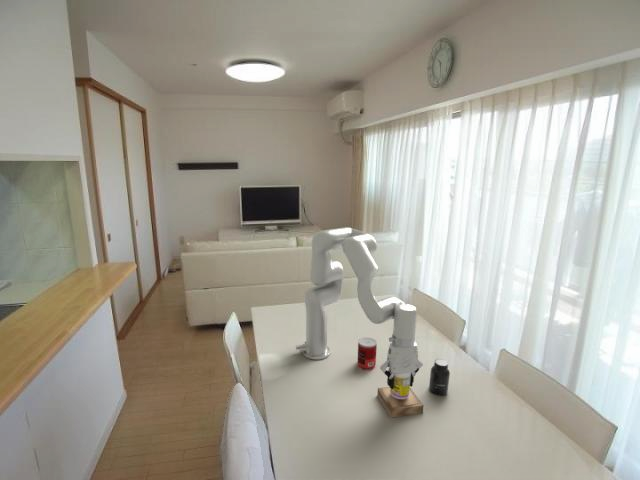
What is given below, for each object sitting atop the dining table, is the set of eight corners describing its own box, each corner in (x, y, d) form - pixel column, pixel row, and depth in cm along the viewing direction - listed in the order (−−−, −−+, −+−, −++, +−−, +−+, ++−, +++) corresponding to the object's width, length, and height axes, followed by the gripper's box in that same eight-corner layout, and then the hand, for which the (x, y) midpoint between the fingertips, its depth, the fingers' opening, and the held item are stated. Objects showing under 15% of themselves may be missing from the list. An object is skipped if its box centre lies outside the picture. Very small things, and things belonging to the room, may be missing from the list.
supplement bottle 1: (386, 390, 126) (388, 359, 124) (401, 386, 129) (403, 355, 126) (397, 402, 120) (399, 369, 118) (412, 397, 123) (415, 365, 120)
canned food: (377, 362, 151) (378, 339, 149) (372, 372, 144) (373, 347, 142) (360, 358, 155) (361, 335, 152) (354, 367, 147) (355, 343, 145)
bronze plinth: (390, 417, 118) (391, 409, 118) (377, 395, 130) (377, 387, 129) (422, 412, 121) (423, 404, 120) (407, 391, 132) (407, 383, 132)
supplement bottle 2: (438, 398, 129) (441, 369, 126) (425, 388, 134) (427, 360, 132) (451, 393, 132) (454, 364, 129) (438, 383, 138) (440, 355, 135)
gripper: (384, 347, 115) (381, 395, 118) (432, 342, 118) (427, 389, 122) (375, 336, 122) (373, 382, 126) (421, 332, 126) (417, 376, 129)
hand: (400, 385), depth 124 cm, fingers closed on supplement bottle 1, 6 cm apart
